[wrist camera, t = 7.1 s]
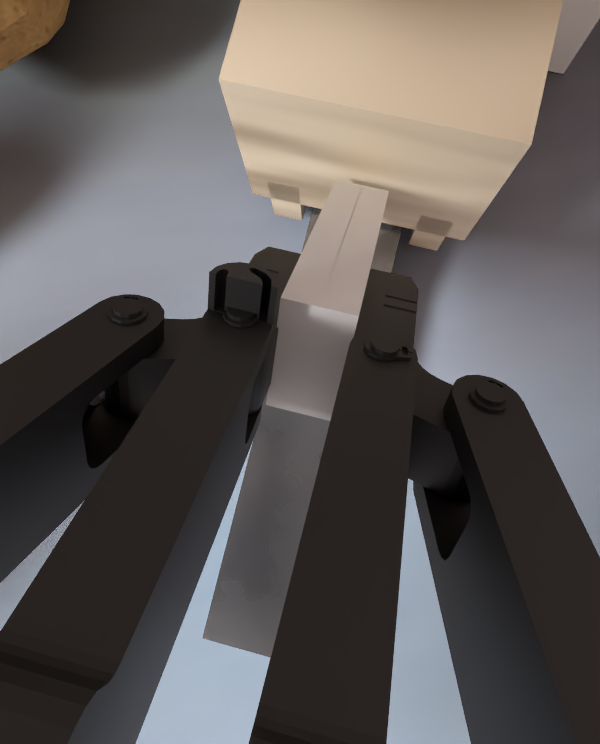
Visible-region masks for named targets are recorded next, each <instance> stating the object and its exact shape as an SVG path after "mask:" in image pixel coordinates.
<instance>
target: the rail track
mask: <svg viewBox="0 0 600 744" xmlns="http://www.w3.org/2000/svg"><path fill="white" fill-rule="evenodd" d="M321 210H322V209H319V208H314V207H313V210H312V214H311V218H310V222H309V226H308V230H307V234H306V238H305V242H304V245H303V249H304V247H305V245H306V242H307V240H308V238H309V236H310V234H311V232H312V230H313V228H314V225H315V223H316V221H317V219H318V217H319V215H320V213H321ZM401 230H402V227H400V226H396V225H391V224H387V223H382V222H381V226H380V230H379V235H378V239H377V243H376V247H375V251H374V255H373V260H372V264H371V269H376V270H380V271H384V272H389V273H391V272H392V268H393V263H394V259H395V255H396V251H397V247H398V243H399V238H400V234H401ZM303 249H302V251H303ZM267 392H268V391H267ZM266 400H267V394H266V396H265V399H264V401H263V405H262V411H261V419H260V423H259V426H258V428H257V431H256V433H255V436H254V440H253V444H252V448H251V451H250V455H249V459H248V463H247V467H246V471H245V475H244V479H243V483H242V486H241V490H240V494H239V498H238V502H237V506H236V510H235V514H234V517H233V521H232V525H231V529H230V533H229V537H228V541H227V545H226V549H225V552H224V556H223V560H222V564H221V568H220V572H219V576H218V580H217V584H216V587H215V591H214V595H213V599H212V603H211V607H210V611H209V615H208V619H207V622H206V626H205V630H204V634H203V638H204V639H207V640H211V641H215V642H218V643H222V644H225V645H229V646H232V647H236V648H239V649H243V650H246V651H250V652H253V653H257V654H260V655H264V656H268V657H271V655H272V651H273V647H274V643H275V639H276V635H277V631H278V627H279V623H280V619H281V615H282V611H283V607H284V603H285V599H286V595H287V591H288V587H289V583H290V579H291V575H292V571H293V567H294V563H295V559H296V555H297V551H298V547H299V543H300V539H301V535H302V531H303V527H304V523H305V519H306V515H307V511H308V507H309V503H310V499H311V495H312V491H313V487H314V484H315V480H316V476H317V472H318V468H319V464H320V460H321V456H322V452H323V448H324V444H325V440H326V436H327V432H328V428H329V424H330V421H328V420H324V419H320V418H316V417H312V416H308V415H304V414H300V413H296V412H292V411H288V410H284V409H280V408H276V407H272V406H268V405H266Z"/></svg>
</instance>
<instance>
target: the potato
mask: <svg viewBox="0 0 600 744" xmlns="http://www.w3.org/2000/svg"><path fill="white" fill-rule="evenodd" d="M69 2H70V0H0V71H1V70H3V69H4V68H6V67H8V66H10V65H11V64H13V63H15V62H16V61H18V60H20V59H21V58H23V57H25V56H27V55H28V54H30V53H32V52H33V51H35V50H37V49H38V48H40V47H42V46H43V45H45V44H47V43H48V42H49V41H50V40H51V39H52V37H53V36H54V35H55V34H56V33H57V31H58V30H59V29H60V28H61V27H62V25H63V24H64V22H65V18H66V14H67V10H68V6H69Z"/></svg>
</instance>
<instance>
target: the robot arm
mask: <svg viewBox="0 0 600 744" xmlns="http://www.w3.org/2000/svg"><path fill="white" fill-rule="evenodd" d="M388 193H389V191H387V190H382V189H378V188H373V187H368V186H364V185H359V184H355V183H350V182H345V181H341V180H336V181H335V183H334V185H333V187H332V189H331V191H330V193H329V196H328V198H327V200H326V202H325V204H324V206H323V208H322V210H321V213H320V215H319V217H318V219H317V221H316V223H315V225H314V228H313V230H312V232H311V234H310V236H309V238H308V240H307V242H306V245H305V247H304V249H303V251H302V253H301V254H299V253H294V252H290V251H285V250H281V249H277V248H272V247H267V248H266V249H264V250H262V251H260V252H258V253H256V254H255V255H254V257H253V258H252V260H251V261H250V263H249V264H248V263H241V262H238V263H226V264H223V265H220V266H217V267H215V268H214V269H213V270H212V271H210V272H209V295H208V310H207V311H206V313H205V314H204V316H203V318H198V319H164V310H163V308H162V307H161V305H160V304H159V303H157V302H156V301H154V300H152V299H151V298H147V297H143V296H140V295H131V294H130V295H119V296H113V297H110V298H107V299H105V300H103V301H100V302H99V303H97V304H96V305H94V306H92V307H91V308H89V309H88V310H86V311H85V312H83V313H81V314H80V315H78V316H77V317H75V318H73V319H72V320H70V321H69V322H67V323H65V324H64V325H62V326H61V327H59V328H58V329H56V330H54V331H53V332H51V333H50V334H48V335H46V336H45V337H43V338H42V339H40V340H39V341H37V342H35V343H34V344H32V345H31V346H29V347H27V348H26V349H24V350H23V351H21V352H20V353H18V354H16V355H15V356H13V357H12V358H10V359H8V360H7V361H5V362H4V363H2V364H1V365H0V582H1V581H2V580H3V579H5V578H6V577H7V576H8V575H9V574H10V573H11V572H12V571H13V570H14V569H15V568H16V567H17V566H18V565H19V564H20V563H21V562H22V561H23V560H24V559H25V558H26V557H27V556H28V555H29V554H30V553H31V552H32V551H33V550H34V549H35V548H36V547H37V546H38V545H39V544H40V543H41V542H42V541H43V540H44V539H45V538H46V537H47V536H49V535H50V534H51V533H52V532H53V531H54V530H55V529H56V528H57V527H58V526H59V525H60V524H61V523H62V522H63V521H64V520H65V519H66V518H67V517H68V516H69V515H70V514H71V513H72V512H73V511H74V510H75V509H76V508H77V507H78V506H79V505H80V504H81V503H82V502H83V501H84V500H85V501H84V502H83V504H82V506H81V507H80V509H79V510H78V512H77V513H76V515H75V516H74V518H73V520H72V521H71V523H70V524H69V526H68V527H67V529H66V530H65V532H64V534H63V535H62V537H61V538H60V540H59V541H58V543H57V544H56V546H55V548H54V549H53V551H52V552H51V554H50V555H49V557H48V558H47V560H46V562H45V563H44V565H43V566H42V568H41V569H40V571H39V572H38V574H37V576H36V577H35V579H34V580H33V582H32V583H31V585H30V586H29V588H28V590H27V591H26V593H25V594H24V596H23V597H22V599H21V600H20V602H19V603H18V605H17V607H16V608H15V610H14V611H13V613H12V614H11V616H10V617H9V619H8V621H7V622H6V624H5V625H4V627H3V628H2V630H1V631H0V744H135V743H136V740H137V738H138V735H139V733H140V730H141V728H142V725H143V722H144V720H145V717H146V715H147V712H148V709H149V707H150V704H151V702H152V699H153V697H154V694H155V691H156V689H157V686H158V684H159V681H160V679H161V676H162V673H163V671H164V668H165V666H166V663H167V660H168V658H169V655H170V653H171V650H172V648H173V645H174V642H175V640H176V637H177V635H178V632H179V630H180V627H181V624H182V622H183V619H184V617H185V614H186V611H187V609H188V606H189V604H190V601H191V599H192V596H193V593H194V591H195V588H196V586H197V583H198V580H199V578H200V575H201V573H202V570H203V568H204V565H205V562H206V560H207V557H208V555H209V552H210V550H211V547H212V544H213V542H214V539H215V537H216V534H217V531H218V529H219V526H220V524H221V521H222V519H223V516H224V513H225V511H226V508H227V506H228V503H229V501H230V498H231V495H232V493H233V490H234V488H235V485H236V482H237V480H238V477H239V475H240V472H241V470H242V467H243V464H244V462H245V459H246V457H247V454H248V452H249V449H250V446H251V444H252V441H253V439H254V436H255V433H256V431H257V428H258V426H259V423H260V419H261V411H262V404H263V401H264V399H265V396H266V394H267V400H266V405H268V406H272V407H276V408H280V409H284V410H288V411H292V412H296V413H300V414H304V415H308V416H312V417H316V418H320V419H324V420H328V421H330V424H329V428H328V432H327V436H326V440H325V444H324V448H323V452H322V456H321V460H320V464H319V468H318V472H317V476H316V480H315V484H314V487H313V491H312V495H311V499H310V503H309V507H308V511H307V515H306V519H305V523H304V527H303V531H302V535H301V539H300V543H299V547H298V551H297V555H296V559H295V563H294V567H293V571H292V575H291V579H290V583H289V587H288V591H287V595H286V599H285V603H284V607H283V611H282V615H281V619H280V623H279V627H278V631H277V635H276V639H275V643H274V647H273V651H272V655H271V659H270V662H269V666H268V670H267V674H266V678H265V682H264V686H263V690H262V694H261V698H260V702H259V706H258V710H257V714H256V718H255V722H254V726H253V730H252V733H251V737H250V741H249V744H386V740H387V728H388V715H389V703H390V691H391V679H392V666H393V654H394V642H395V630H396V618H397V605H398V593H399V581H400V569H401V556H402V544H403V532H404V520H405V508H406V495H407V483H408V478H409V479H411V480H413V491H414V495H415V500H416V504H417V508H418V513H419V517H420V521H421V526H422V530H423V535H424V539H425V543H426V548H427V552H428V557H429V561H430V565H431V570H432V574H433V578H434V583H435V587H436V592H437V596H438V600H439V605H440V609H441V614H442V618H443V622H444V627H445V631H446V635H447V640H448V644H449V649H450V653H451V657H452V662H453V666H454V670H455V675H456V679H457V684H458V688H459V692H460V697H461V701H462V706H463V710H464V714H465V719H466V723H467V727H468V732H469V736H470V741H471V744H600V557H599V555H598V553H597V551H596V549H595V547H594V545H593V543H592V541H591V539H590V537H589V535H588V533H587V531H586V529H585V526H584V524H583V522H582V520H581V518H580V516H579V514H578V512H577V510H576V508H575V506H574V504H573V502H572V500H571V498H570V496H569V494H568V492H567V490H566V488H565V486H564V484H563V482H562V480H561V477H560V475H559V473H558V471H557V469H556V467H555V465H554V463H553V461H552V459H551V457H550V455H549V453H548V451H547V449H546V447H545V445H544V443H543V441H542V439H541V437H540V435H539V433H538V431H537V428H536V426H535V424H534V422H533V420H532V418H531V416H530V414H529V412H528V410H527V408H526V406H525V404H524V402H523V401H522V399H521V398H520V397H519V395H518V394H517V393H516V392H515V391H514V390H513V389H511V388H510V387H509V386H507V385H506V384H504V383H502V382H500V381H498V380H496V379H493V378H490V377H486V376H481V375H466V376H464V377H461V378H459V379H457V380H456V382H455V383H454V384H453V385H451V384H449V383H447V382H444V381H442V380H440V379H438V378H436V377H435V376H433V375H431V374H430V373H428V372H427V371H426V370H425V369H423V368H422V367H421V365H420V364H419V363H418V362H417V361H418V358H417V354H416V350H415V349H414V348H413V345H414V334H415V323H416V312H417V301H418V288H417V287H416V285H415V284H414V282H413V280H412V279H411V277H406V276H402V275H398V274H393V273H389V272H384V271H380V270H376V269H371V264H372V260H373V255H374V251H375V247H376V243H377V239H378V235H379V230H380V226H381V222H382V218H383V214H384V210H385V205H386V201H387V197H388ZM267 391H268V392H267Z"/></svg>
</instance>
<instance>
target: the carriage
mask: <svg viewBox="0 0 600 744" xmlns="http://www.w3.org/2000/svg"><path fill="white" fill-rule="evenodd" d="M562 3H563V0H241V2H240V5H239V9H238V12H237V16H236V20H235V23H234V27H233V30H232V34H231V37H230V41H229V44H228V48H227V51H226V55H225V59H224V62H223V66H222V69H221V73H220V76H219V82H220V85H221V89H222V92H223V95H224V99H225V102H226V105H227V109H228V112H229V115H230V119H231V122H232V125H233V129H234V132H235V135H236V139H237V142H238V145H239V149H240V152H241V155H242V159H243V162H244V165H245V168H246V172H247V175H248V178H249V182H250V185H251V188H252V192H253V194H256V195H260V196H265V197H269V198H271V201H272V205H273V210H274V214H275V215H279V216H284V217H288V218H293V219H297V220H302V219H303V215H304V212H305V208H306V206H310V207H314V208H319V209H322V208H323V206H324V204H325V202H326V200H327V198H328V196H329V193H330V191H331V189H332V187H333V185H334V183H335V181H336V180H341V181H345V182H350V183H355V184H359V185H364V186H368V187H373V188H378V189H382V190H387V191H389V193H388V197H387V201H386V205H385V210H384V214H383V218H382V223H387V224H391V225H396V226H400V227H405V228H409V229H412V232H411V236H410V241H409V245H413V246H417V247H422V248H426V249H431V250H435V251H437V250H438V248H439V247H440V245H441V243H442V242H443V240H444V238H445V237H450V238H454V239H459V240H463V241H464V240H465V239H466V237H467V236H468V234H469V233H470V232H471V230H472V229H473V227H474V226H475V224H476V223H477V222H478V220H479V219H480V217H481V216H482V214H483V213H484V212H485V210H486V209H487V207H488V206H489V205H490V203H491V202H492V200H493V199H494V197H495V196H496V195H497V193H498V192H499V190H500V189H501V187H502V186H503V185H504V183H505V182H506V180H507V179H508V177H509V176H510V175H511V173H512V172H513V170H514V169H515V167H516V166H517V165H518V163H519V162H520V160H521V159H522V157H523V156H524V155H525V153H526V152H527V150H528V149H529V147H530V146H531V145H532V141H533V136H534V131H535V127H536V122H537V118H538V113H539V109H540V104H541V99H542V95H543V90H544V86H545V81H546V77H547V72H548V67H549V63H550V58H551V54H552V49H553V45H554V40H555V35H556V31H557V26H558V22H559V17H560V13H561V8H562Z"/></svg>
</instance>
